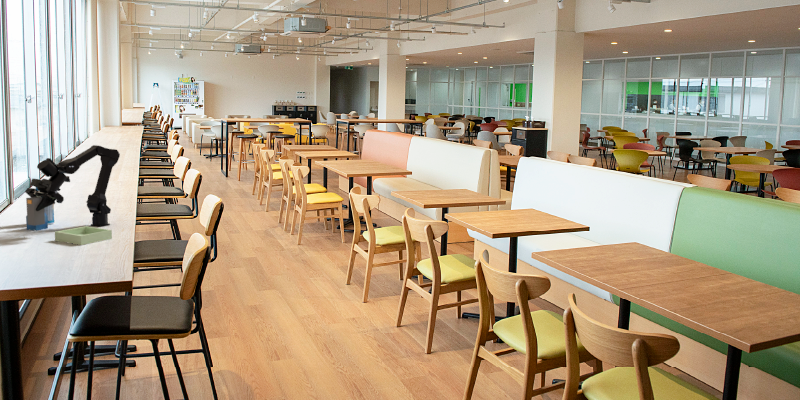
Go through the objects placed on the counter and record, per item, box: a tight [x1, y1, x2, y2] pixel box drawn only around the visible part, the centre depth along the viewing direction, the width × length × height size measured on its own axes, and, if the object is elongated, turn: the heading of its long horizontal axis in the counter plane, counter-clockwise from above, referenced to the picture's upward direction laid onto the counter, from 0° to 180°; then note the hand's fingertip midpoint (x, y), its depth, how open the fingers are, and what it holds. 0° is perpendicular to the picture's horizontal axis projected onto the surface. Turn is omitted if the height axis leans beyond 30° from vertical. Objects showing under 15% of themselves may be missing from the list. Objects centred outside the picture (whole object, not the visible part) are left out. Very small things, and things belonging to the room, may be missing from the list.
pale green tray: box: [54, 226, 113, 246], centre depth 268 cm, size 16×16×4 cm
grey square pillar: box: [25, 197, 45, 226], centre depth 268 cm, size 5×4×12 cm
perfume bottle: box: [25, 212, 49, 232], centre depth 286 cm, size 6×6×12 cm
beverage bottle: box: [35, 187, 55, 226], centre depth 298 cm, size 8×8×20 cm
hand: (32, 210), depth 267 cm, fingers closed on grey square pillar, 4 cm apart
